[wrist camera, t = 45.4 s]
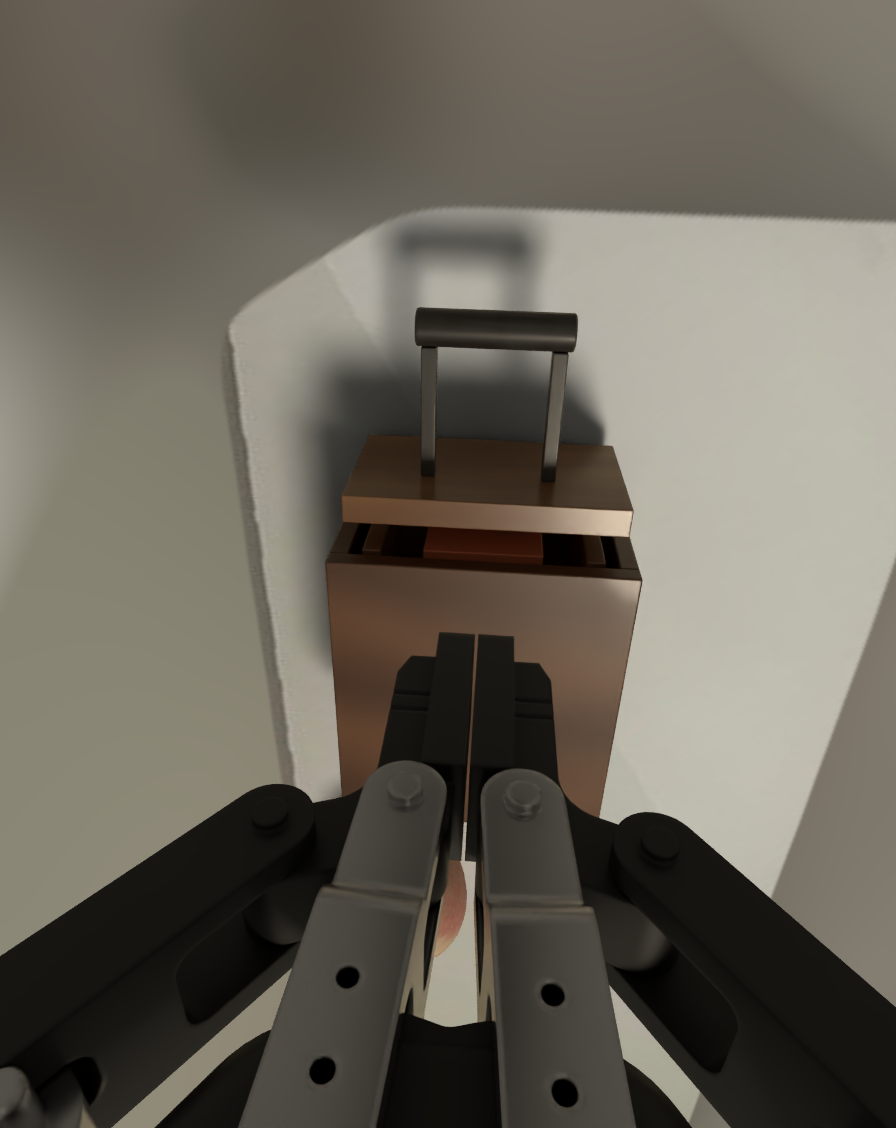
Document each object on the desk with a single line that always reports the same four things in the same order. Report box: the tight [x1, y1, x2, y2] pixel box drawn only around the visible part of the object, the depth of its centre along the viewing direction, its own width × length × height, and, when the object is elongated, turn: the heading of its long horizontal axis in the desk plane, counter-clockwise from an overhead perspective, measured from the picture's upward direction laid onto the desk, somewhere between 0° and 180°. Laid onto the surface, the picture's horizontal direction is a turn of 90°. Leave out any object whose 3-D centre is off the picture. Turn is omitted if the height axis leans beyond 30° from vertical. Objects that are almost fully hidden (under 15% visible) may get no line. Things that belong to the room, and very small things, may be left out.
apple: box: [434, 860, 467, 957], centre depth 47 cm, size 8×8×8 cm
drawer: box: [341, 307, 634, 568], centre depth 33 cm, size 20×11×7 cm, turn 179°
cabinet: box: [325, 522, 642, 822], centre depth 37 cm, size 15×13×9 cm
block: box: [423, 527, 543, 565], centre depth 34 cm, size 5×5×5 cm
